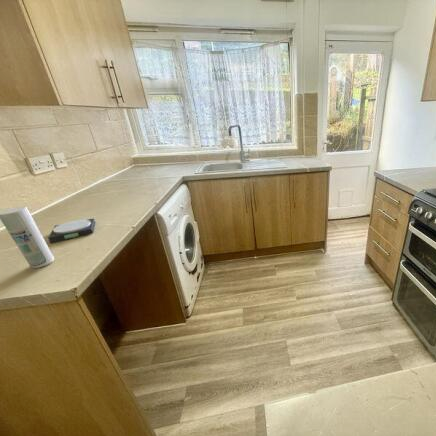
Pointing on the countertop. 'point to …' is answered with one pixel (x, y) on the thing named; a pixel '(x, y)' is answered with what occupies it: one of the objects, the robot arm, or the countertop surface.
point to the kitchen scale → (72, 230)
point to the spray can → (27, 236)
